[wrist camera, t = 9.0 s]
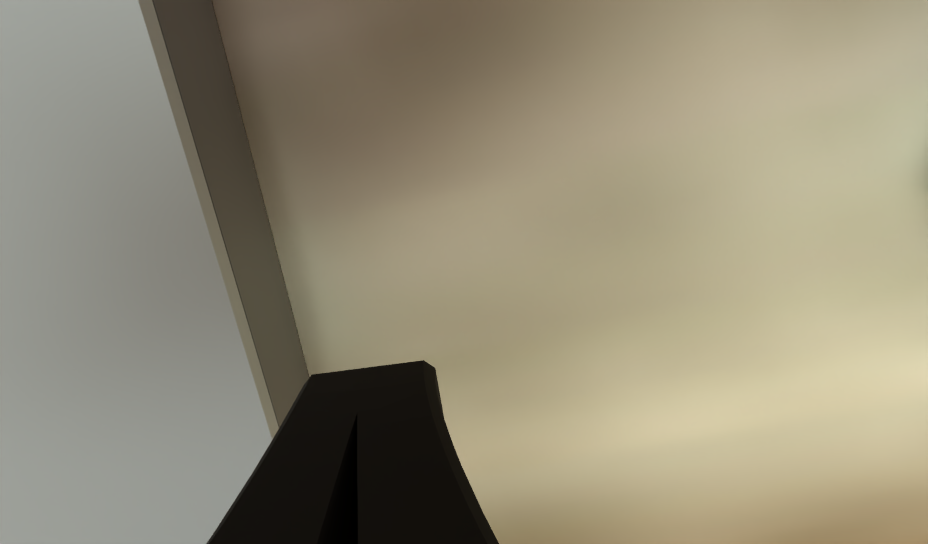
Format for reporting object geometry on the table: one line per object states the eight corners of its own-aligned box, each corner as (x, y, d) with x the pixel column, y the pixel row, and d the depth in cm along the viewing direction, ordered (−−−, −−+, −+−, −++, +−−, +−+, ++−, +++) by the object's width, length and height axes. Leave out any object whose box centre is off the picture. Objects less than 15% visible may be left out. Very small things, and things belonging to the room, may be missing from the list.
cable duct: (327, 446, 23) (315, 546, 20) (38, 480, 23) (-16, 584, 20) (112, -381, 13) (27, -424, 10) (-381, -319, 13) (-603, -345, 10)
